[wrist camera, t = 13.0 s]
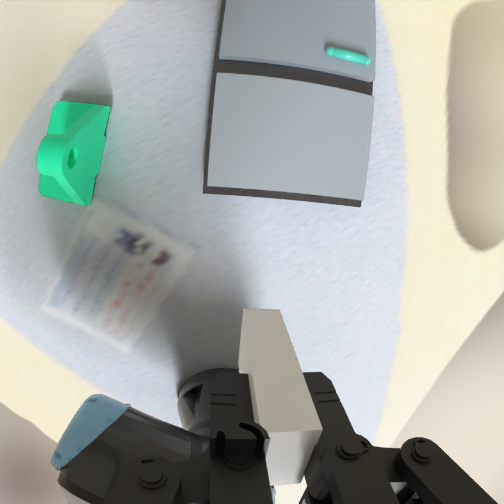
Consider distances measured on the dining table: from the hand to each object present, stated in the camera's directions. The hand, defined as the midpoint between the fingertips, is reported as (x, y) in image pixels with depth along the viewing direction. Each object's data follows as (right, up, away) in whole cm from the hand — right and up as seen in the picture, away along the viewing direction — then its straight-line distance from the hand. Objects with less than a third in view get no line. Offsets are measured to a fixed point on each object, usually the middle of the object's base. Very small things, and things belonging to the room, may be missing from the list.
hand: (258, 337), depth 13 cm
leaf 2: (+4, +16, +19) cm, 25 cm away
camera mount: (-22, +16, +20) cm, 34 cm away
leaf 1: (+5, +29, +14) cm, 33 cm away
